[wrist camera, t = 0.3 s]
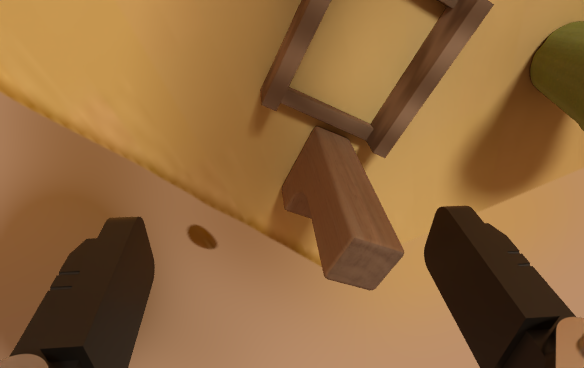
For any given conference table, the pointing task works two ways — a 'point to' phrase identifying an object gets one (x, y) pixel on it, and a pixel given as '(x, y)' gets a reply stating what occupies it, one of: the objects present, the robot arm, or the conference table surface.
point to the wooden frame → (406, 94)
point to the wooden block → (342, 211)
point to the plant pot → (562, 70)
